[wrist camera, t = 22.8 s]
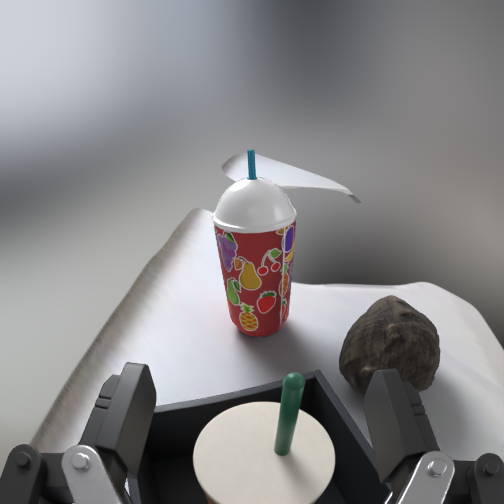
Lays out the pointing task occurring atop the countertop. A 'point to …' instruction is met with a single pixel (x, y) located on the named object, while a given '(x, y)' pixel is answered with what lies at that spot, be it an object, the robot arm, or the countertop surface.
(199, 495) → the bin
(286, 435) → the takeaway cup
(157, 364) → the countertop surface
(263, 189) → the smoothie
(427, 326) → the rock
